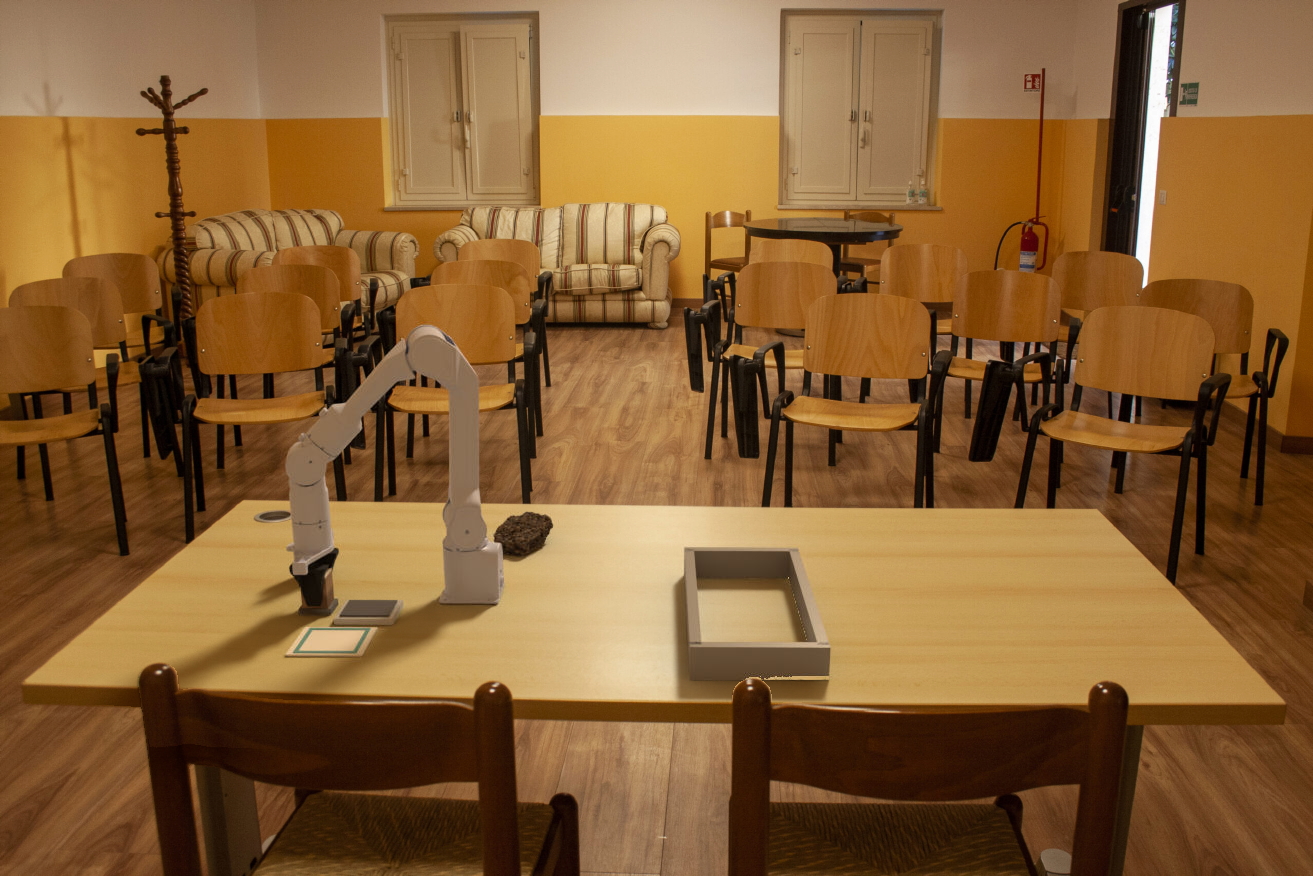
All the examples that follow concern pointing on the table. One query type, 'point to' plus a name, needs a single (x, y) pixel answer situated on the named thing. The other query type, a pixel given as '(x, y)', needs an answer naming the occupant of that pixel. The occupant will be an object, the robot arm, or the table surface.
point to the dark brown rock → (523, 533)
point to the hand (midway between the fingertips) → (318, 600)
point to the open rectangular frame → (753, 656)
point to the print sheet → (332, 641)
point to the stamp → (327, 600)
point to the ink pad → (368, 612)
